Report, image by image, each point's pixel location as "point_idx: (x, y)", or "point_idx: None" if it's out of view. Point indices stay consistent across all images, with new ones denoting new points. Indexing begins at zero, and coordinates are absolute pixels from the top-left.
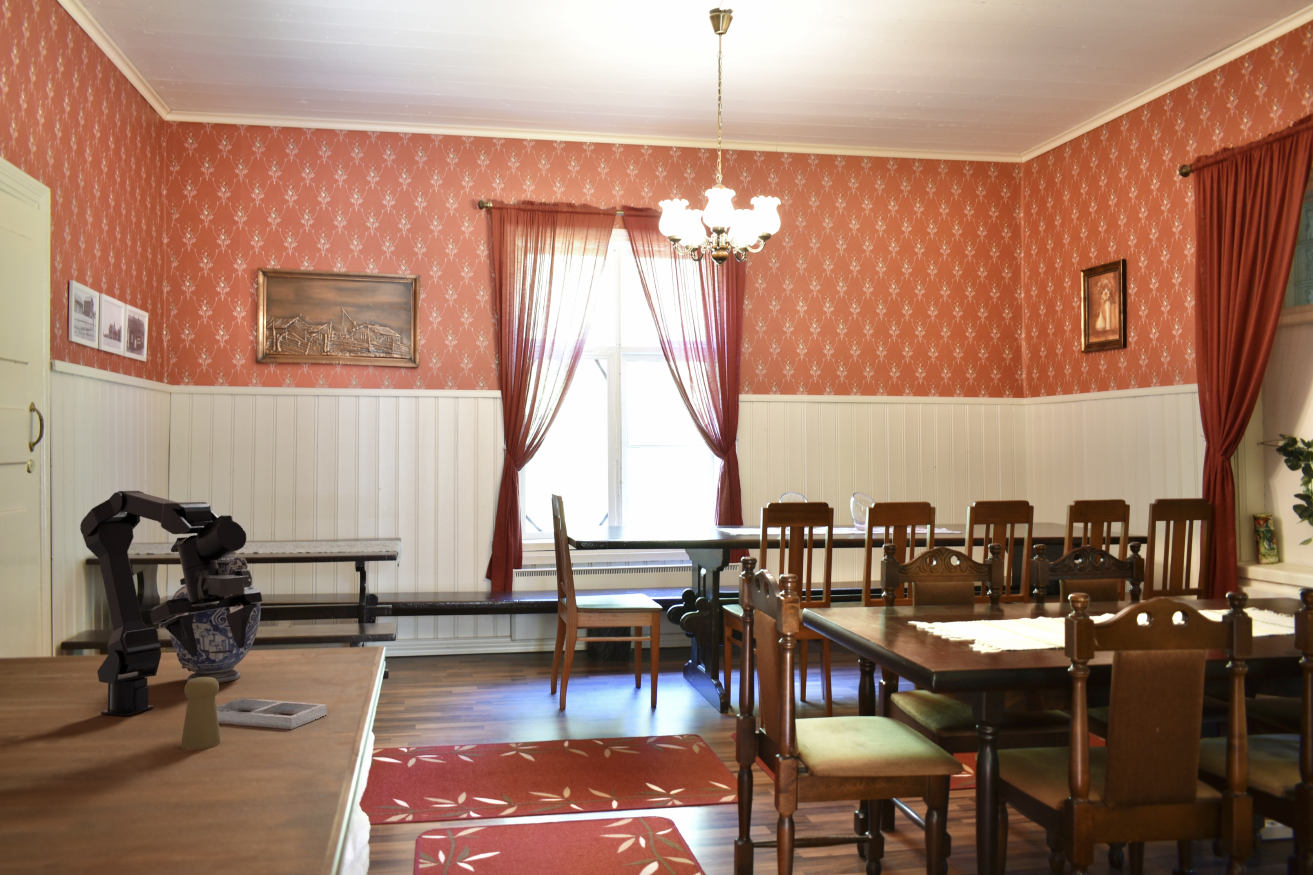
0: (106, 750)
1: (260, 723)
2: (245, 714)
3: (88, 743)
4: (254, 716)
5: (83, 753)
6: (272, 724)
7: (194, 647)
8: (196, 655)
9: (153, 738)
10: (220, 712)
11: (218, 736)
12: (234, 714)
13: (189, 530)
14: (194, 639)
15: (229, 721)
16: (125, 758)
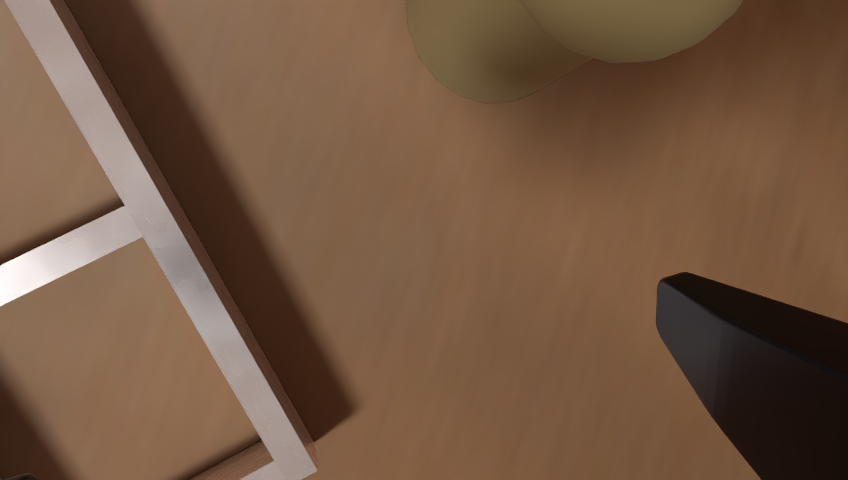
0: (780, 241)
1: (124, 113)
2: (171, 215)
3: None
4: (139, 152)
5: (845, 263)
6: (78, 32)
7: (759, 304)
8: (675, 275)
9: (592, 293)
10: (261, 370)
11: None
12: (213, 282)
13: None
14: (833, 359)
15: (233, 304)
16: (783, 51)
